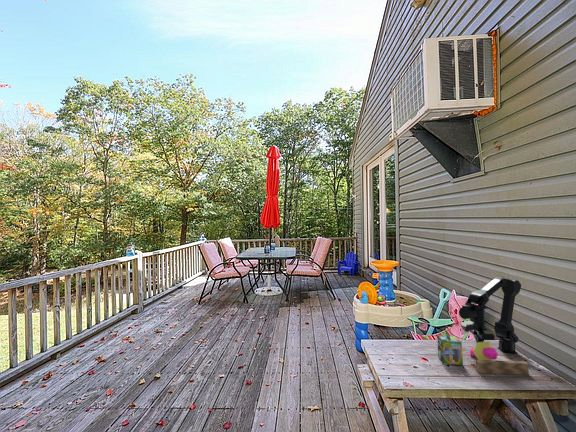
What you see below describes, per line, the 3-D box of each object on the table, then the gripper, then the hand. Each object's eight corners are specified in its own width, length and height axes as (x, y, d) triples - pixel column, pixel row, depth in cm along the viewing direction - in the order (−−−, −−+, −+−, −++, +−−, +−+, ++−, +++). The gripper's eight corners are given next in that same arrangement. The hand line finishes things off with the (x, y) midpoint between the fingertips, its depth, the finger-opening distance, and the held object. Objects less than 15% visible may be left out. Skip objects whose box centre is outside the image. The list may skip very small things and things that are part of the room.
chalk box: (463, 365, 142) (462, 335, 143) (443, 364, 144) (442, 334, 145) (456, 357, 151) (455, 329, 152) (437, 356, 153) (436, 327, 154)
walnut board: (524, 372, 136) (524, 361, 136) (528, 374, 133) (528, 363, 133) (475, 370, 137) (475, 359, 138) (479, 373, 135) (478, 362, 135)
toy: (487, 355, 155) (475, 336, 159) (510, 360, 138) (497, 338, 142) (471, 363, 154) (460, 344, 157) (493, 369, 137) (479, 348, 140)
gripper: (454, 311, 164) (454, 339, 164) (471, 322, 145) (472, 353, 145) (474, 312, 163) (475, 339, 163) (495, 323, 144) (496, 354, 144)
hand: (479, 346), depth 154 cm, fingers closed
